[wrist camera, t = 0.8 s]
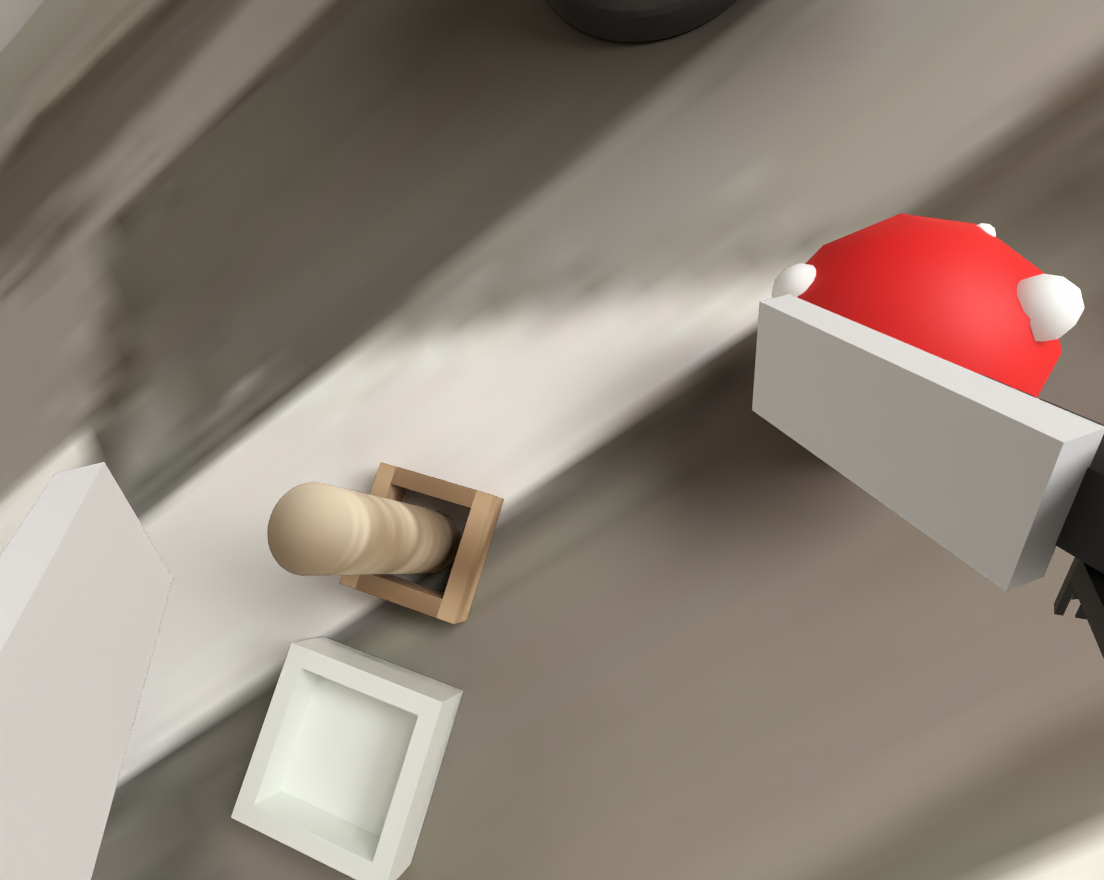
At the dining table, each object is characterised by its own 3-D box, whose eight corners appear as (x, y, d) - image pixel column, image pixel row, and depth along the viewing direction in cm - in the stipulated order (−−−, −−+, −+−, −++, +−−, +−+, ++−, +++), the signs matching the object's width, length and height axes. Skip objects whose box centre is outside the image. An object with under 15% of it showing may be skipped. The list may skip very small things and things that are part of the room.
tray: (323, 636, 36) (291, 642, 33) (463, 690, 33) (442, 702, 30) (268, 796, 34) (231, 817, 31) (410, 864, 32) (383, 893, 29)
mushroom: (724, 468, 33) (747, 413, 21) (768, 280, 34) (812, 135, 23) (944, 519, 30) (1105, 488, 19) (981, 313, 32) (1151, 168, 20)
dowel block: (396, 467, 37) (380, 462, 35) (503, 499, 35) (493, 495, 33) (357, 582, 36) (339, 583, 34) (466, 620, 34) (453, 624, 32)
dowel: (412, 502, 36) (286, 471, 25) (467, 519, 35) (363, 496, 24) (392, 562, 36) (255, 559, 24) (448, 581, 35) (332, 587, 23)
